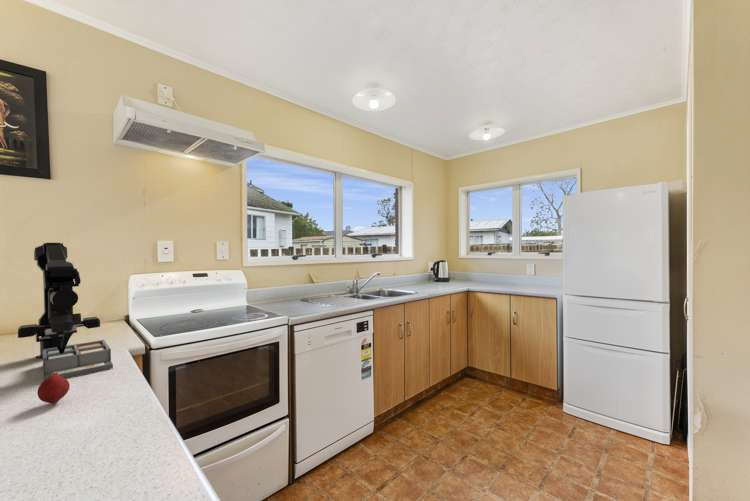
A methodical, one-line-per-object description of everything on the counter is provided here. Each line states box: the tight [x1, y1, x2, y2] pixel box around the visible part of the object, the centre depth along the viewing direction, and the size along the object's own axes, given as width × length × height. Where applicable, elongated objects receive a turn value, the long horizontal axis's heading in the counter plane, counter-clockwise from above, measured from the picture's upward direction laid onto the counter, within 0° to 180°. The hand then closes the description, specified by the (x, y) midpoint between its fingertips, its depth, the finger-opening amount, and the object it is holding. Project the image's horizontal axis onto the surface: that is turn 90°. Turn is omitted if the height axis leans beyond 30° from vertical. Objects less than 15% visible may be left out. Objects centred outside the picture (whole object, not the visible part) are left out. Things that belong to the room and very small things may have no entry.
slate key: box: [48, 348, 73, 354], centre depth 111 cm, size 6×6×2 cm
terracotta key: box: [78, 343, 101, 349], centre depth 116 cm, size 6×6×2 cm
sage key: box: [48, 353, 74, 360], centre depth 105 cm, size 6×6×2 cm
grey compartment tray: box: [42, 339, 114, 381], centre depth 109 cm, size 20×16×6 cm
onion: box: [36, 372, 70, 405], centre depth 84 cm, size 6×6×8 cm
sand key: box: [80, 348, 104, 354], centre depth 111 cm, size 6×6×2 cm
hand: (61, 353), depth 105 cm, fingers closed
